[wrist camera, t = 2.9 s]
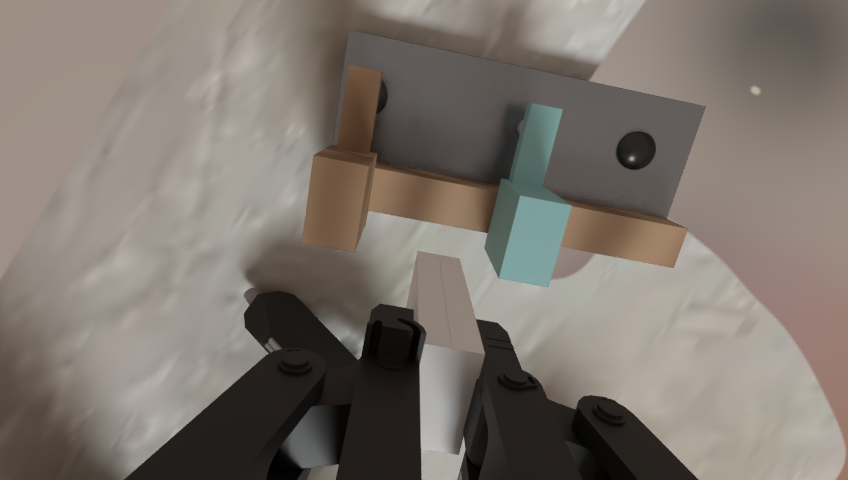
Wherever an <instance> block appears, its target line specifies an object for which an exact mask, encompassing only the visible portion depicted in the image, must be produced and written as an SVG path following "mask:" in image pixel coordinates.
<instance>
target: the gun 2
mask: <svg viewBox="0 0 848 480" xmlns="http://www.w3.org/2000/svg"><path fill="white" fill-rule="evenodd" d="M244 297H245V299H246V300H247V302H248V303H249V305H250V306H249V307H248V309H247V310H246V311H245V313H244V319H245V328H246V329H247V330H248V331H249V332H250V333H251V334H252V336H253V337H254V338H255V339H256V340H257V341H258V342H259V343H260V344H261V346H262V347H263V348H264V349H265V350H266V351H267V352H268V353H269V354H270V353H271V352H273V351H275V350H280V349H284V348H301V349H306V350H310V351H312V352H314V353H317V354H319V355H320V356H321V357H322V358H323V359H324V360H325V362H326V365H327V368H339V367H345V366H349V365H351V364H353V363H355V362H357V361H358V360H357V359H356V358H355V357H354V356H353V355H352V354H351V353H350V352H349V351H348V350H347V348H346V347H345V346H344V345H343V344H342V343H341V342H340V341H339V340H338V339H337V338H336V337H335V336H334V335H333V334H332V333H331V332H330V331H329V330H328V329H327V328H326V327H325V326H324V325H323V324H322V323H321V322H320V321H319V320H318V319H317V318H316V317H315V316H314V314H313V313H312V312H311V311H310V310H309V309H308V308H307V307H306V306H305V305H304V304H303V303H302V302H301V301H300V300H299V299H298V298H297V297H296V296H295V295H292V294H289V293H285V292H281V291H277V292H270V293H262V294H261V293H260V292H258V291H257V290H256V289H255V288H250V289H249V290H247V291H246V292H245V294H244Z"/></svg>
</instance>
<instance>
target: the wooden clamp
mask: <svg viewBox="0 0 848 480" xmlns="http://www.w3.org/2000/svg"><path fill="white" fill-rule="evenodd" d="M382 74H383V72H382V71H377V70H372V69H368V68H363V67H358V66H353V65H349V68H348V75H347V82H346V88H345V95H344V102H343V109H342V116H341V123H340V130H339V137H338V143H337V145H331V146H330V147H328V148H326V149H324V150H322V151H320V152H319V153H317V154H315V155H314V156H313V164H312V171H311V179H310V186H309V194H308V201H307V209H306V216H305V224H304V231H303V239H302V243H306V244H312V245H317V246H323V247H328V248H334V249H339V250H345V251H350V252H355V250H356V247H357V245H358V242H359V240H360V237H361V235H362V232H363V229H364V227H365V224H366V219H367V213H368V211H373V212H379V213H384V214H389V215H395V216H400V217H405V218H411V219H416V220H421V221H427V222H432V223H437V224H442V225H448V226H453V227H458V228H464V229H469V230H474V231H480V232H485V233H488V231H489V227H490V223H491V219H492V215H493V211H494V207H495V203H496V198H497V194H498V190H499V186H497V185H492V184H486V183H481V182H476V181H471V180H466V179H461V178H456V177H451V176H446V175H440V174H435V173H430V172H425V171H420V170H415V169H410V168H405V167H399V166H394V165H389V164H384V163H379V162H376V160H377V154H378V153H374V152H370V147H371V141H372V135H373V129H374V123H375V117H376V111H377V105H378V99H379V93H380V87H381V81H382ZM561 199H563V198H561ZM563 200H564V201H566V202H567V203H569V204H570V205H572V207H571V211H570V214H569V218H568V221H567V225H566V228H565V232H564V235H563V238H562V242H561V245H560V247H565V248H571V249H576V250H581V251H586V252H591V253H597V254H602V255H607V256H613V257H618V258H623V259H629V260H634V261H639V262H645V263H650V264H655V265H661V266H666V267H671V268H674V266H675V263H676V260H677V257H678V255H679V252H680V249H681V246H682V244H683V241H684V238H685V235H686V233H687V230H688V229H687V228H685V227H683V226H681V225H679V224H677V223H674V222H672V221H670V220H668V219H665V218H660V217H655V216H650V215H645V214H640V213H635V212H630V211H624V210H619V209H614V208H609V207H604V206H599V205H594V204H589V203H584V202H578V201H573V200H568V199H563Z"/></svg>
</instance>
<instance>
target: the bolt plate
mask: <svg viewBox="0 0 848 480" xmlns="http://www.w3.org/2000/svg"><path fill="white" fill-rule="evenodd" d="M349 65H353V66H358V67H363V68H368V69H372V70H377V71H382V72H383V74H382V81H381V87H380V93H379V99H378V105H377V111H376V117H375V123H374V129H373V135H372V141H371V147H370V152H374V153H378V154H377V160H376V162H379V163H384V164H389V165H394V166H399V167H405V168H410V169H415V170H420V171H425V172H430V173H435V174H440V175H446V176H451V177H456V178H461V179H466V180H471V181H476V182H481V183H486V184H492V185H497V186H500V182H501V178H502V179H507V180H509V176H510V172H511V168H512V164H513V160H514V156H515V152H516V148H517V144H518V140H519V136H520V134H519V133H518V131H517V126H518V124H519V122H520V121H522V120H524V116H525V112H526V108H527V104H528V103H534V104H539V105H544V106H549V107H553V108H558V109H563V111H562V115H561V118H560V122H559V126H558V129H557V133H556V137H555V141H554V144H553V148H552V152H551V155H550V159H549V163H548V167H547V170H546V174H545V178H544V181H543V185H542V187H545V188H547V189H548V190H550V191H551V192H553V193H554V194H556V195H557V196H558V197H560V198H563V199H568V200H573V201H578V202H584V203H589V204H594V205H599V206H604V207H609V208H614V209H619V210H624V211H630V212H635V213H640V214H645V215H650V216H655V217H660V218H665V219H667V216H668V213H669V210H670V207H671V205H672V202H673V199H674V196H675V193H676V190H677V187H678V185H679V181H680V179H681V176H682V173H683V170H684V167H685V164H686V161H687V159H688V156H689V153H690V150H691V147H692V144H693V142H694V139H695V136H696V133H697V130H698V127H699V124H700V122H701V119H702V116H703V113H704V110H705V106H701V105H696V104H692V103H687V102H683V101H678V100H673V99H669V98H664V97H659V96H655V95H650V94H645V93H641V92H636V91H632V90H626V89H622V88H617V87H613V86H608V85H604V84H599V83H594V82H590V81H585V80H580V79H576V78H571V77H567V76H562V75H557V74H553V73H548V72H543V71H539V70H534V69H529V68H525V67H520V66H515V65H511V64H506V63H501V62H497V61H492V60H487V59H483V58H478V57H474V56H469V55H464V54H460V53H455V52H450V51H446V50H441V49H436V48H432V47H427V46H422V45H418V44H413V43H408V42H404V41H399V40H395V39H390V38H385V37H381V36H376V35H371V34H367V33H362V32H357V31H353V30H349V31H348V38H347V45H346V52H345V59H344V66H343V73H342V80H341V87H340V94H339V101H338V108H337V115H336V122H335V129H334V136H333V143H332V145H337V143H338V137H339V130H340V123H341V116H342V109H343V102H344V95H345V88H346V82H347V75H348V68H349Z"/></svg>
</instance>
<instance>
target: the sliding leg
mask: <svg viewBox="0 0 848 480" xmlns="http://www.w3.org/2000/svg"><path fill="white" fill-rule="evenodd" d="M562 111H563V109H558V108H553V107H549V106H544V105H539V104H534V103H528V104H527V108H526V112H525V116H524V120H522V121H520V122H519V124H518V126H517V131H518V133H519V134H520V136H519V140H518V144H517V148H516V152H515V156H514V160H513V164H512V168H511V172H510V176H509V180H507V179H502V178H501V182H500V186H499V190H498V194H497V198H496V203H495V207H494V211H493V215H492V219H491V223H490V227H489V231H488V235H487V239H486V243H485V250H486V252H487V254H488V256H489V259H490V261H491V263H492V265H493V267H494V269H495V271H496V273H497V276H498V278H499V279H505V280H510V281H516V282H521V283H527V284H532V285H538V286H544V287H549V283H550V280H551V276H552V272H553V269H554V266H555V262H556V259H557V255H558V252H559V249H560V245H561V242H562V238H563V235H564V232H565V228H566V225H567V221H568V218H569V214H570V211H571V207H572V205H570V204H569V203H567V202H566V201H564V200H563V199H561V198H560V197H558V196H557V195H556V194H554V193H553V192H551V191H550V190H548V189H547V188H545V187H542V185H543V181H544V178H545V174H546V170H547V167H548V163H549V159H550V155H551V152H552V148H553V144H554V141H555V137H556V133H557V129H558V126H559V122H560V118H561V115H562Z"/></svg>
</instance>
